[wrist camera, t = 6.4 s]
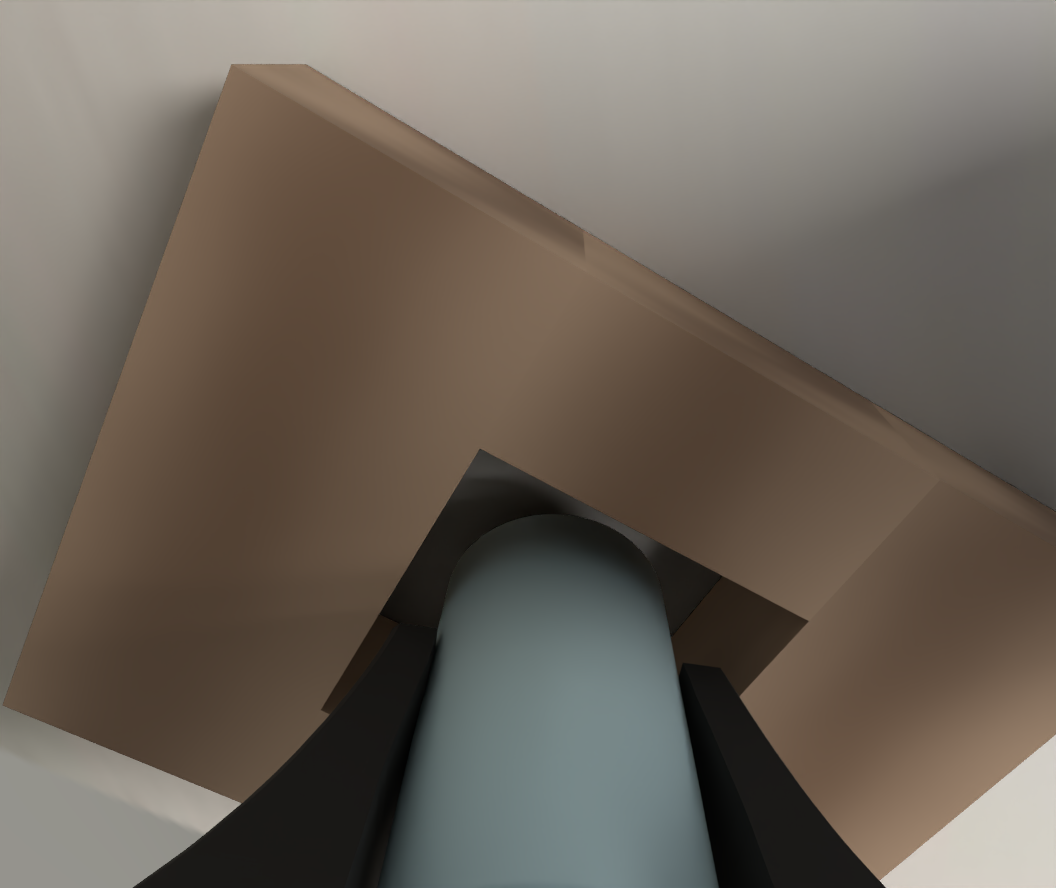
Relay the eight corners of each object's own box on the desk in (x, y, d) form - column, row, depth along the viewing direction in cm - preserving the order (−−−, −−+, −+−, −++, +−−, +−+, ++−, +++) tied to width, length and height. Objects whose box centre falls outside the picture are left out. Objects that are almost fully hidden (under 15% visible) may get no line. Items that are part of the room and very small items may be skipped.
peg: (680, 526, 14) (780, 904, 7) (644, 703, 15) (701, 1137, 9) (452, 503, 14) (354, 861, 7) (441, 682, 15) (354, 1102, 9)
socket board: (1076, 524, 15) (1187, 624, 12) (708, 875, 20) (731, 1003, 17) (305, 64, 12) (232, 64, 10) (92, 603, 17) (2, 705, 14)
